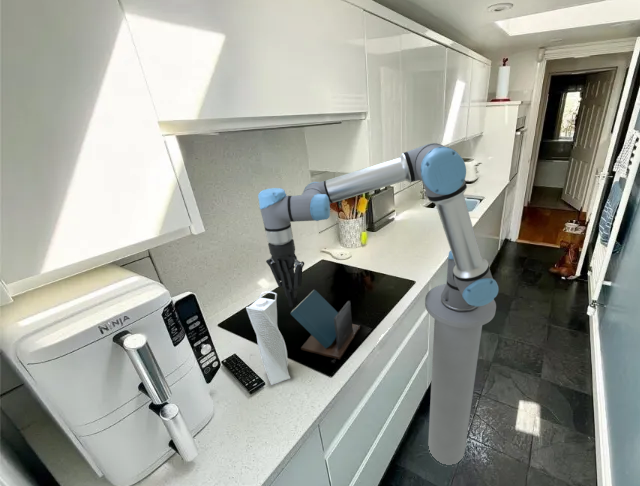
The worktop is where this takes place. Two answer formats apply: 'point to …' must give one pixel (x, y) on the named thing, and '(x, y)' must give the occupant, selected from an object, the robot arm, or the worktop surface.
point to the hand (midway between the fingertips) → (293, 304)
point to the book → (317, 318)
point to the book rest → (343, 336)
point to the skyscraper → (269, 338)
